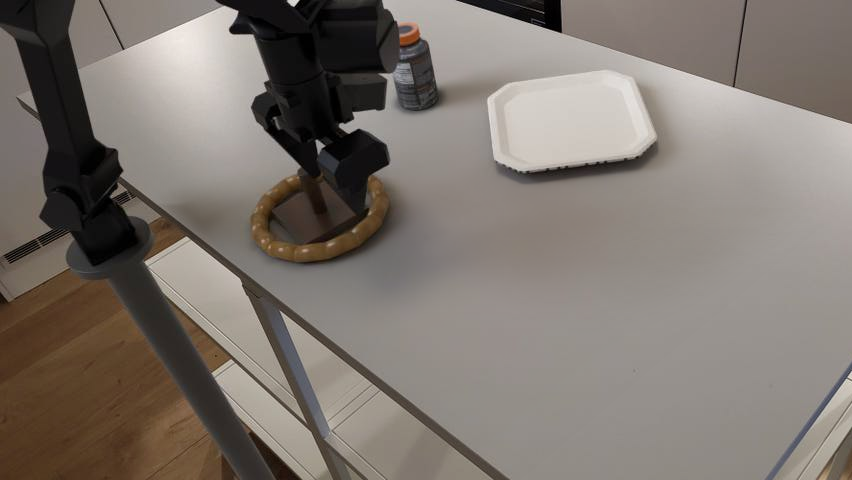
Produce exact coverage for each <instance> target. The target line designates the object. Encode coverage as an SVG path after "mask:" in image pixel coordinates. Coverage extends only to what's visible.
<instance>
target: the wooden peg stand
mask: <svg viewBox="0 0 852 480" xmlns="http://www.w3.org/2000/svg"><path fill="white" fill-rule="evenodd" d="M296 174H298V176H299V179H300V182H301V185H302V190H303V192H301V193H300V194H298V195H296V196H294V197H292V198H290V199H289V200H286V201H285V202H283V203H282V204H281V203H280V205H278V206H275V208H274V209H272V210H271V215H272V217H273V218H274V220H276V222H277V223H279V224H280V225H281V226H282V227H283V228H284V229H285V230H286V231H287V232H288V233H289V234H290V235H291V236H292V237H293V238H294V239H295V240H296V241H298V243H299V244H300V245H307V244H315V243H322V242H327V241H329V240H331V239H333V237H335V236H337V235H338V234H340V233H342V232H343V231H345V230H347V229H349V228H351V227H352V226H353V225H356V224H358V223H360V222H361V221H362V220H363V219H364V218H366V217H367V214H368V212H369V210H370V207H369V206H367V205H366V204H365V209H364V211H363V212H361V213H359V214H357V215H356V214H355V213H354V212H353V211H352V210H351V209H350V208H349V207H348V206H347V205H346V204H345V203H344V201H343V200H342V199H341V198H340V197H339V196H338V195H337V194H336V193H335V191H334V190H333V189H332V188H331V187H330V186H329V185H328V184H327V183H326V181H323V182H320V183H319V182H318V179H317V178H316V179H313V178H312V177H311V176H310V175H309V174H308V173H307V172H306V171H305V170H304V169H303V168H302V167H301V166H300V167H299V168H298V169H297V172H296Z"/></svg>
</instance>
